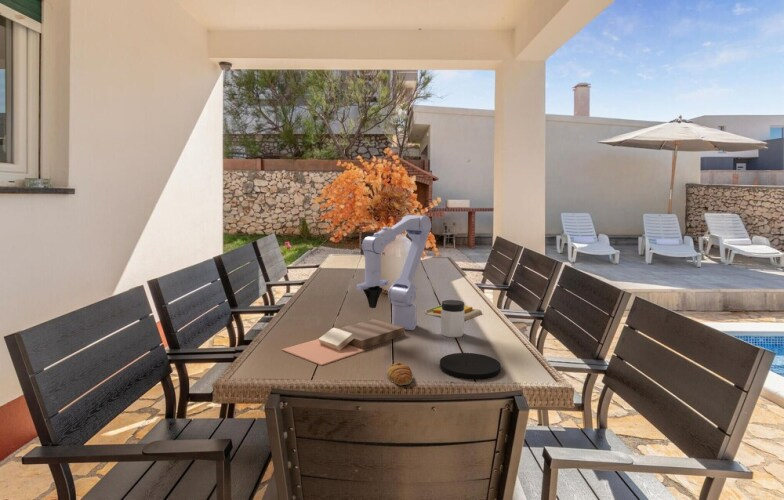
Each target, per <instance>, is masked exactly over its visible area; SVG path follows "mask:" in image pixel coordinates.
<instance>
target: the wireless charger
mask: <svg viewBox="0 0 784 500" xmlns="http://www.w3.org/2000/svg"><path fill="white" fill-rule="evenodd" d="M501 368H502V366H501V363H500V361H498V359H495V358H494V357H491V356H489V355H484V354H481V353H475V352H474V353H473V352H458V353H450V354H446V355H444V356H443V357H441V358H440V360H439V369H440V371H441V372H442V373H444V374H445V375H447V376H450V377H453V378H457V379H461V380H468V381H483V380H489V379H492V378H493V379H494V378H495V377H498V376H499V375H500V374H501Z"/></svg>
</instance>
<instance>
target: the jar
mask: <svg viewBox="0 0 784 500" xmlns="http://www.w3.org/2000/svg"><path fill="white" fill-rule="evenodd" d="M441 305H442V310H441V317H440V335H441V336H443V337H446V338H461V337H463V336H464V334H465V321H464V311H465V309H464V306H465V302H464V301H462V300H458V299H448V300H447V299H446V300H443V301H441Z"/></svg>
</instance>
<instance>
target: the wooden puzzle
mask: <svg viewBox="0 0 784 500" xmlns="http://www.w3.org/2000/svg"><path fill="white" fill-rule="evenodd" d="M464 309H465V311H464V322H465V321H468V320H471V319H473V318H476V317H478V316H481V315H482V313H483V311H482V310H480V309H478V308H473V306H468V305H467V306H465V305H464ZM441 310H442V304H440V305H437V306H433V307H431V308H428V309H425V311H424V314H425V315H427V316H432V317H437V318H441Z"/></svg>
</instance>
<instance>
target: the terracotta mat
mask: <svg viewBox="0 0 784 500" xmlns="http://www.w3.org/2000/svg"><path fill="white" fill-rule="evenodd" d="M281 351H283V352H285V353H288V354H290V355H293V356H296V357H298V358H300V359H303V360H306V361H308V362H311V363H313V364H316V365H319V366H325V365H327V364H330V363H333V362H336V361H339V360H343V359H345V358H348V357H352V356H354V355H358V354H360V353H363V352H365V349H360V348H357V347H353V346H350V345H346V346H344V347H343V348H342V349H341V350H336V349H333V348H331V347H328V346H325V345H322V344H320V342H319V338H317V339H313V340H311V341H309V340H308V341H307V342H302V343H299V344H296V345H292V346H287V347H285V348H281Z"/></svg>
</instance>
